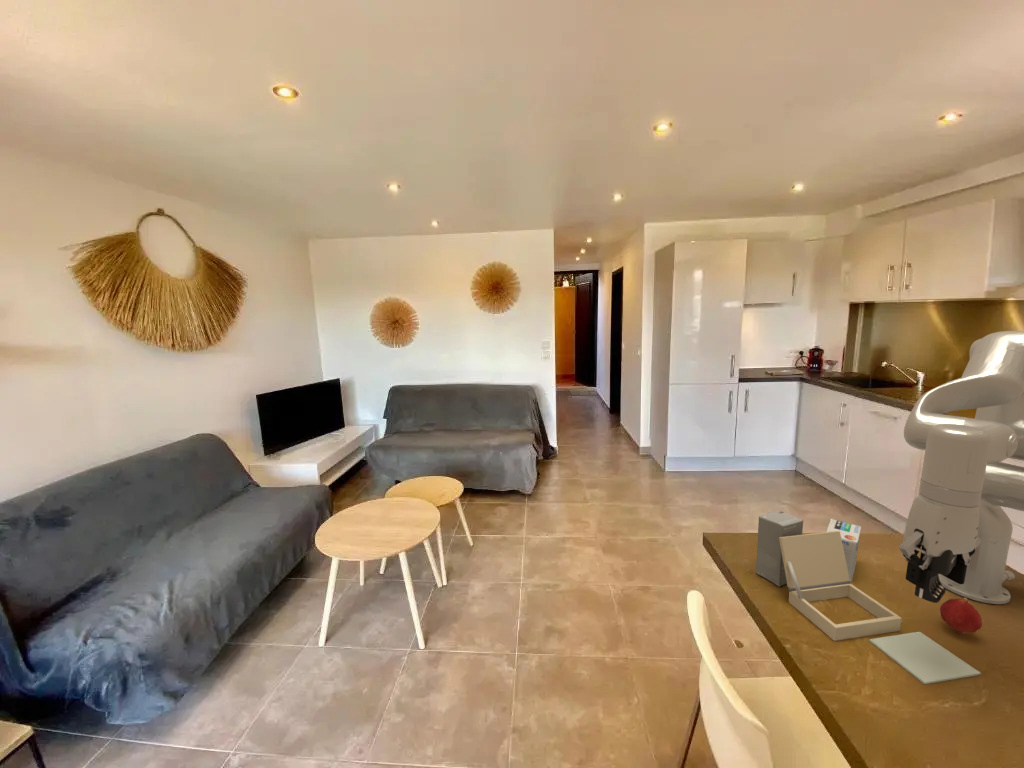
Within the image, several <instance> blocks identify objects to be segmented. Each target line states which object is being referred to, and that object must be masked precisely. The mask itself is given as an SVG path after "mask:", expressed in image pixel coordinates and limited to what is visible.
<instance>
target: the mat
mask: <svg viewBox="0 0 1024 768" xmlns="http://www.w3.org/2000/svg"><path fill="white" fill-rule="evenodd" d="M868 641H869V642H870V643H871V645H872V644H873V646H874V647H876V648H877V649H879V650H880V651H881V652H882V653H884V654H885V655H886V656H887V657H889V658H890V659H891V660H893V661H894V662H895V663H897V664H898V665H899V666H900V667H902V668H903V670H905V671H907V672H908V673H909V674H911V675H912V676H913V677H914V678H916V679H917V680H918V681H920V682H921V684H924V685H930V684H936V683H941V682H947V681H948V682H949V681H953V680H958V679H963V678H970V677H977V676H980V675H981V674H982V673H981V672H980V671H979V670H978V669H975V668H974V667H973V666H972V665H970V664H968V663H967V662H966V661H964V660H963V659H961V658H959V656H956V655H955V654H953V653H952V652H950V651H949V650H948V649H946V648H945V647H943V646H942V645H940V644H938V643H937V642H935V640H934V639H932V638H930V637H928V636H927V635H925V634H924V633H922V632H921V631H915V632H914V631H913V632H908V633H902V634H901V633H900V634H894V635H887V636H883V637H875V638H870V639H868Z"/></svg>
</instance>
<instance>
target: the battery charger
mask: <svg viewBox="0 0 1024 768" xmlns="http://www.w3.org/2000/svg"><path fill="white" fill-rule="evenodd" d="M921 549H922V550H924V551H926V550H927V549H926V548H925V547H924V545H922V546H921ZM924 556H925V554H923V553H921V552H920V555H919V558H920V559H921V560H922V559H923V557H924ZM956 559H957V554H956V555H953V552H952V551H951V550H946V551H944V552H943V553H942V555H941V556H938V557H934V558H933V559H932V561H931V562H930V564H929V566H928V567H927V569H929V570H930V574H929V580H928V586H927V589H921V588H919V587H918V586H916V585H915V590H914V596H915V597H918V598H919V599H921V600H924V601H928V602H931V603H934V604H935V603H936V604H938V603H939V602H940V601H941V600H942V598H943V597H944V596H945V593H946V590H947V589H946V588H944V587H943V586H942V584H941V582H940V580H939V574H941V575H948V574H949V573H950V572H951V570H952V568H953V567H954V566H955V564H956Z"/></svg>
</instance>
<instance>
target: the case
mask: <svg viewBox="0 0 1024 768" xmlns="http://www.w3.org/2000/svg"><path fill="white" fill-rule="evenodd" d="M779 541H780V547H781V552H782V558H783V563H784V569H785V574H786V580H787V583H786V585H787V590H788V591H789V595H788V603H789V604H791V605H792V606H793V607H794V608H795V609H796V610H798V611H799V613H801V614H802V615H803V616H804V617H806V618H807V619H808V620H809V621H811V623H813V624H814V625H815V626H816V627H817V628H819V629H820V630H821V631H822V632H823V633H825V634H826V635H827V636H828V637H829V638H830V639H831V640H832V641H834V642H835V641H842V640H849V639H856V638H861V637H862V638H863V637H868V636H875V635H881V634H888V633H895V632H901V626H902V625H901V624H902V619H903V618H902V617H901V616H899V615H898V614H896V613H895V612H894V611H892V610H891V609H889V608H888V607H886V606H885V605H883V604H882V603H880V602H879V601H877V600H876V599H874V598H873V597H872V596H870V595H868V594H867V593H865V592H863V590H861V589H859V588H858V587H856V586H855V585H853V584H852V583H851V581H850V578H849V574H848V569H847V564H846V559H845V554H844V549H843V544H842V539H841V535H840V531H832V532H826V531H824V532H823V531H822V532H815V533H805V534H802V535H795V536H786V537H779ZM839 598H840V599H841V598H849V599H851V600H852V601H853V602H855V603H856V604H857V605H859V607H860V606H861V607H862V608H863V609H865V611H867V612H869V613H870V614H872V615H873V616H874V617H875V618H871V619H864V620H857V621H851V622H842V623H838V624H837V623H834V622H833V621H832V620H831V619H830V618H828V617H827V616H826V615H824V614H823V613H822V612H821V611H819V609H817V608H816V607H815V606H814V605H812V604H811V602H819V601H824V600H831V599H833V600H834V599H839Z"/></svg>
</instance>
